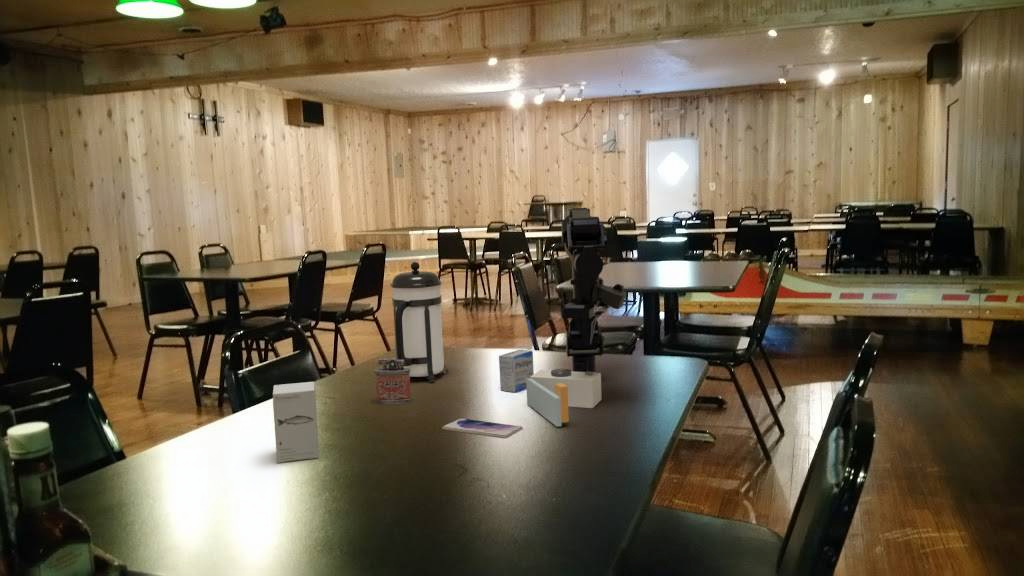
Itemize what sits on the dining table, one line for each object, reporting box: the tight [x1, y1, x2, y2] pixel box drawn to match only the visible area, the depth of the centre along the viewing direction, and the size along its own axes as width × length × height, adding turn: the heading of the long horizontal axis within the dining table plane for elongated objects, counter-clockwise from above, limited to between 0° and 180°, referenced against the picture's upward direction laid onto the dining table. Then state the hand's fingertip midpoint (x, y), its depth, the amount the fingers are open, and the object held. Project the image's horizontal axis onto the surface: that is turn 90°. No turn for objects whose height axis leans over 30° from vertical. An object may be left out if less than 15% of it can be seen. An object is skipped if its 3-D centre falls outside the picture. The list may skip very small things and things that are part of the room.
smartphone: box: [441, 418, 523, 439], centre depth 143 cm, size 7×1×15 cm
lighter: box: [374, 357, 413, 405], centre depth 165 cm, size 8×3×10 cm, turn 84°
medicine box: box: [498, 349, 535, 394], centre depth 173 cm, size 8×4×9 cm, turn 143°
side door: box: [526, 378, 570, 427], centre depth 150 cm, size 2×18×8 cm, turn 17°
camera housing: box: [530, 368, 603, 409], centre depth 159 cm, size 7×14×7 cm, turn 68°
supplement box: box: [272, 381, 320, 464], centre depth 131 cm, size 7×7×13 cm
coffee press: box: [390, 261, 449, 384], centre depth 185 cm, size 17×16×30 cm
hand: (588, 344), depth 161 cm, fingers closed
